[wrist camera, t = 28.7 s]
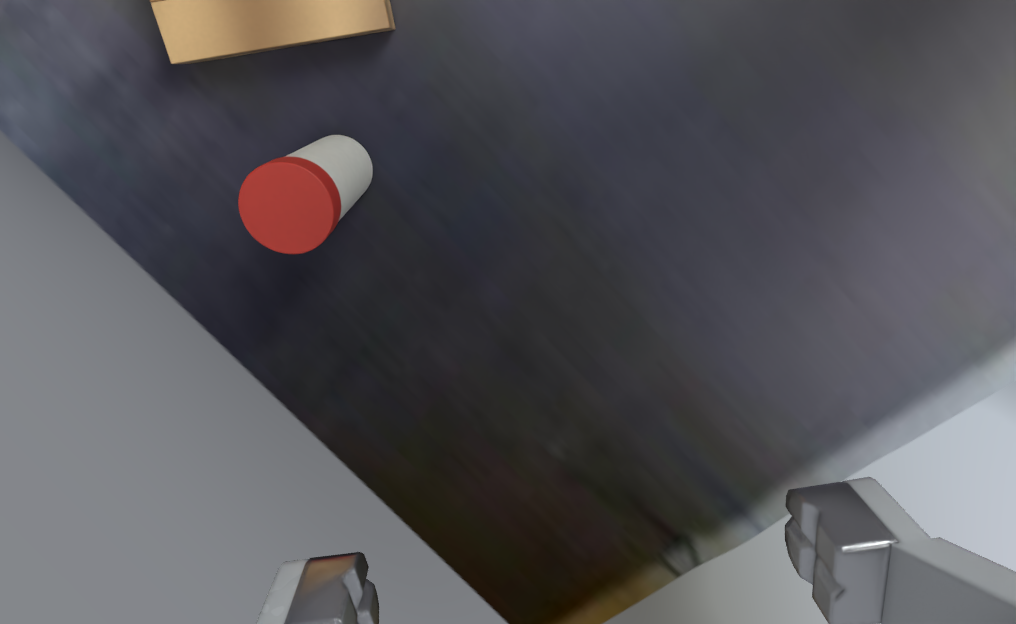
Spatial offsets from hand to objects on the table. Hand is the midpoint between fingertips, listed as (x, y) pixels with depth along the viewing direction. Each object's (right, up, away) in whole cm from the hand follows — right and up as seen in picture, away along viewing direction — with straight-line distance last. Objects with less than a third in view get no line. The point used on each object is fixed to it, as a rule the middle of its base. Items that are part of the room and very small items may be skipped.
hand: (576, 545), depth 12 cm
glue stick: (-12, +13, +25) cm, 31 cm away
